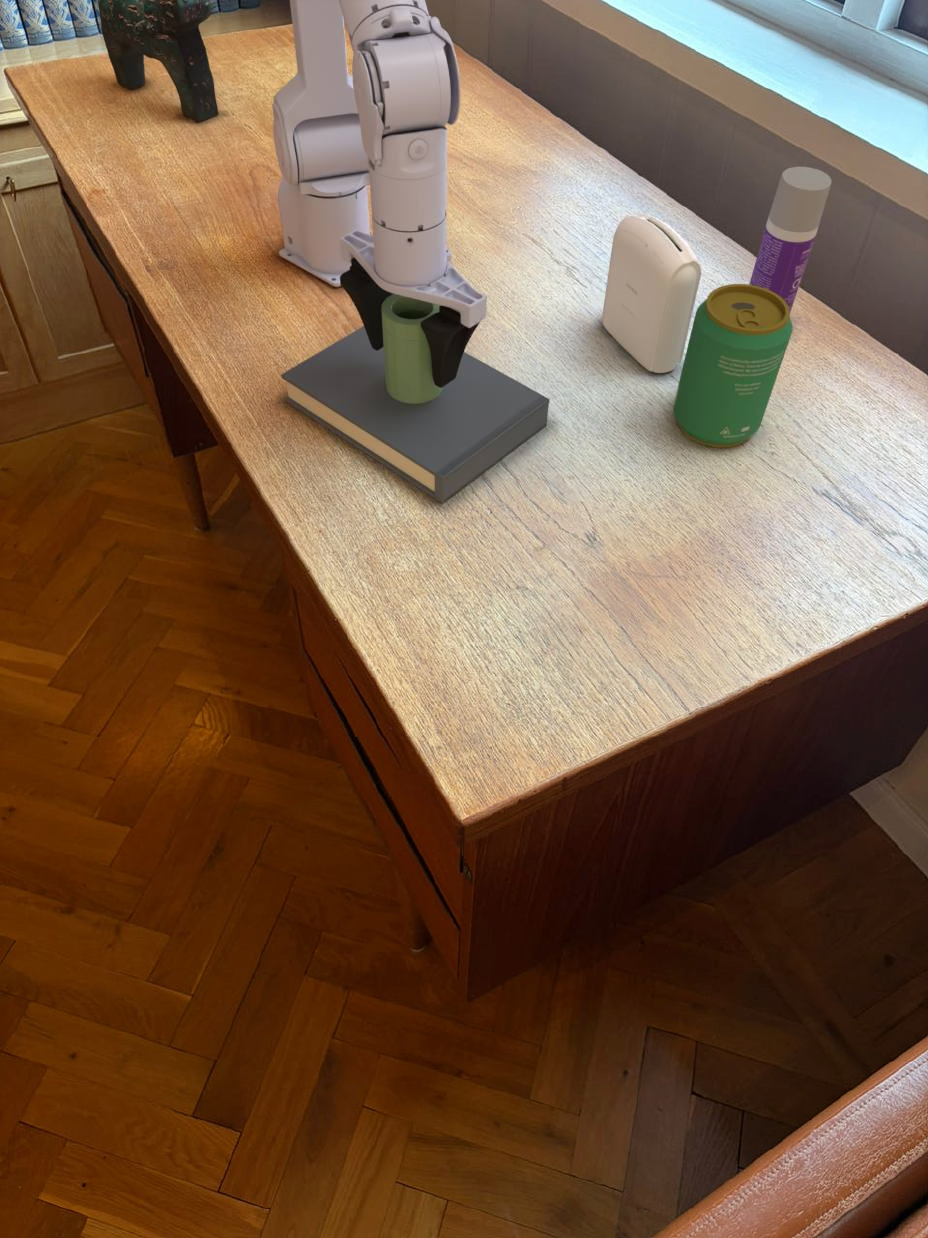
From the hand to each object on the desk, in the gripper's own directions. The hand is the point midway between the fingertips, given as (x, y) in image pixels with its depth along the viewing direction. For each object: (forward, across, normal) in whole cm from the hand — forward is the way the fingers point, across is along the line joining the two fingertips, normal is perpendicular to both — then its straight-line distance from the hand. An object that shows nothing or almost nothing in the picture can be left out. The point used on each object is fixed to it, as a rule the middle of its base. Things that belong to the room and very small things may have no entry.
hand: (413, 362), depth 82 cm
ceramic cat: (+6, +70, -24) cm, 74 cm away
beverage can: (+6, -21, -18) cm, 28 cm away
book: (+6, 0, 0) cm, 6 cm away
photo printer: (+6, -9, -23) cm, 25 cm away
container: (+6, -16, -35) cm, 39 cm away
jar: (+3, 0, 0) cm, 3 cm away
